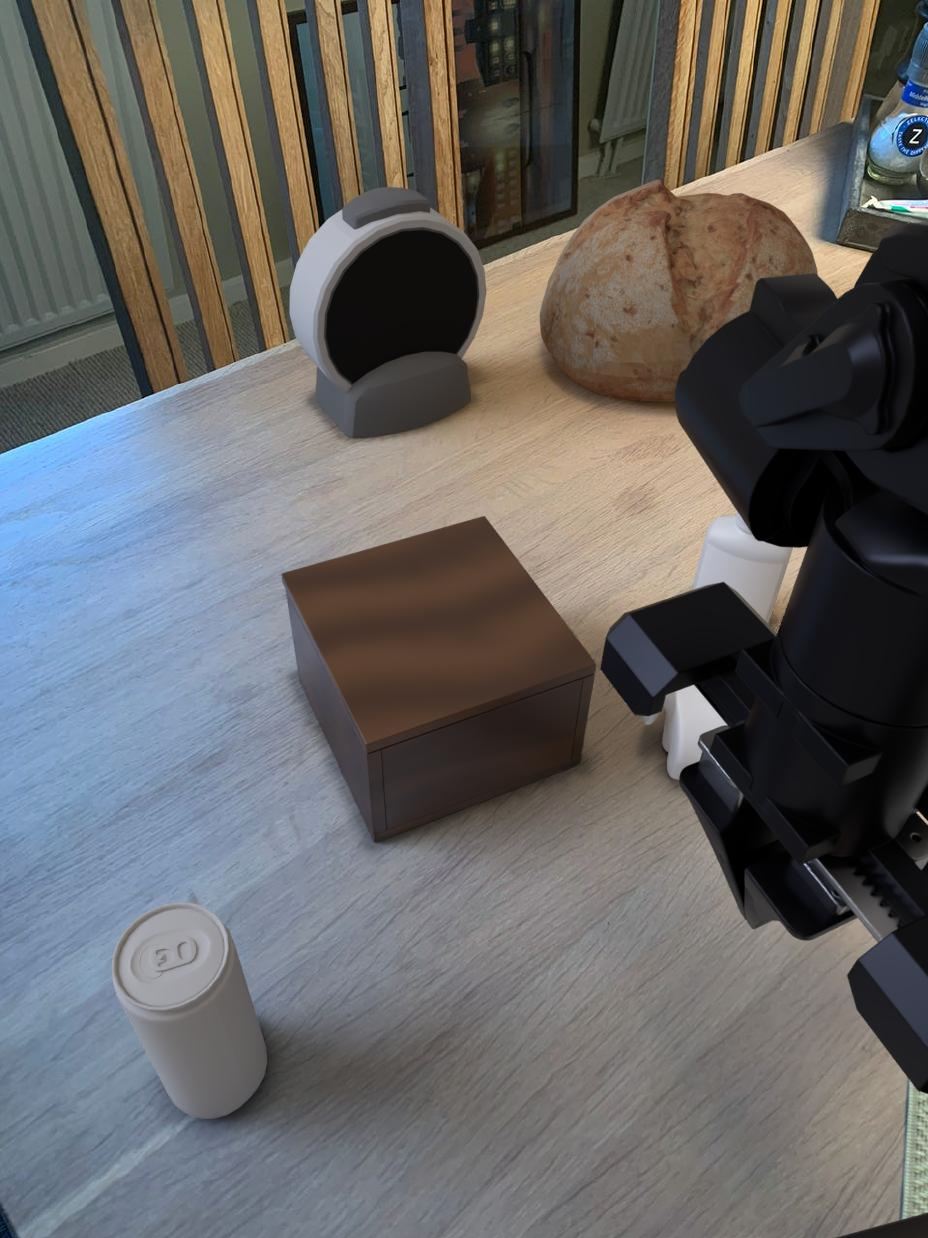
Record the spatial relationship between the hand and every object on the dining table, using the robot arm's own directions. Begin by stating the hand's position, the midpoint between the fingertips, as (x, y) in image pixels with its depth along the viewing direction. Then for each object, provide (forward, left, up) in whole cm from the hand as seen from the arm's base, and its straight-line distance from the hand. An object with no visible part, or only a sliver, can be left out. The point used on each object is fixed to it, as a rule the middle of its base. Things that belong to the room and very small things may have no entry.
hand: (757, 917), depth 40 cm
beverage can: (-8, +22, -13) cm, 27 cm away
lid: (+16, +19, -5) cm, 25 cm away
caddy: (+16, +19, -13) cm, 28 cm away
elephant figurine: (+18, +3, -13) cm, 22 cm away
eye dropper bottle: (+31, +2, -13) cm, 34 cm away
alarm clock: (+50, +34, -13) cm, 62 cm away
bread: (+66, +11, -13) cm, 68 cm away
